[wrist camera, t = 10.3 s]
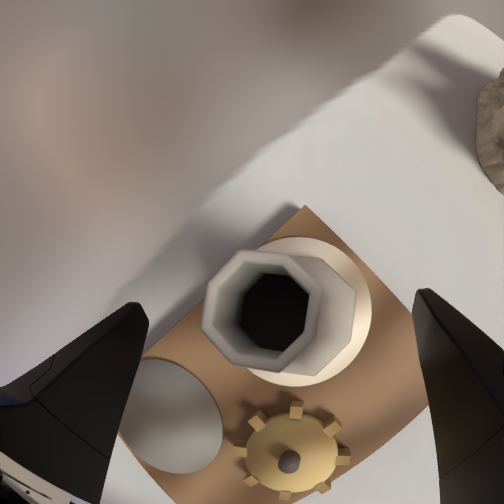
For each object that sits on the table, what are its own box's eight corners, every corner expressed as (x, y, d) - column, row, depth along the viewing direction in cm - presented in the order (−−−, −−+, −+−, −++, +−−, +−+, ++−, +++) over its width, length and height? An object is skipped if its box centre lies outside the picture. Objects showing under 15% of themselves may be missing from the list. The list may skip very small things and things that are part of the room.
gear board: (450, 368, 15) (474, 377, 11) (218, 527, 15) (202, 550, 12) (306, 212, 20) (302, 190, 16) (106, 396, 20) (76, 403, 17)
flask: (215, 339, 17) (107, 353, 8) (268, 235, 18) (209, 148, 9) (321, 395, 15) (314, 481, 6) (376, 284, 16) (440, 239, 6)
